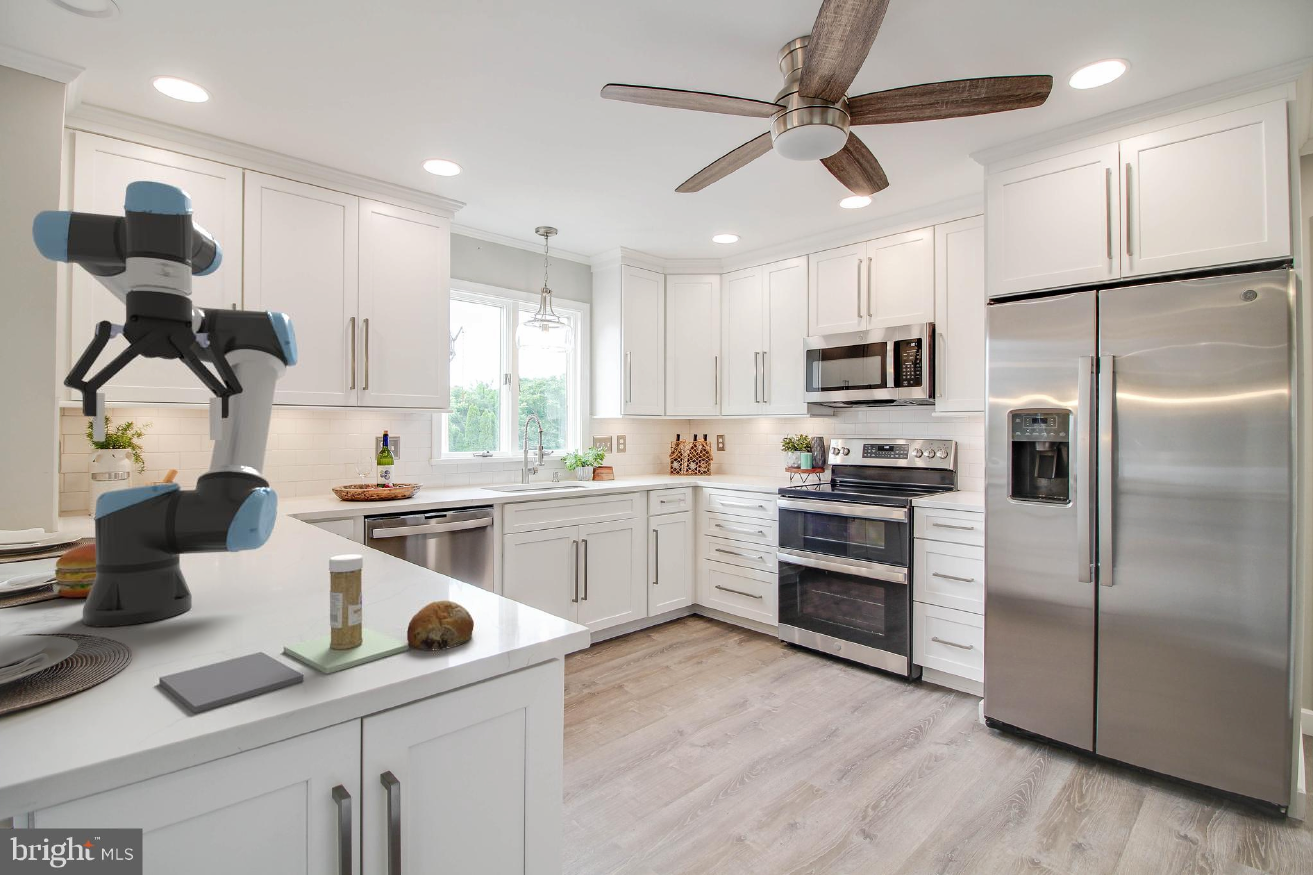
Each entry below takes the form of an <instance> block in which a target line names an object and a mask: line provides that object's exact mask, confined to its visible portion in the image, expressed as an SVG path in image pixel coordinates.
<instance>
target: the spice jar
mask: <svg viewBox="0 0 1313 875" xmlns="http://www.w3.org/2000/svg"><path fill="white" fill-rule="evenodd" d="M363 566H364V557H363V555H361V554H354V553H353V554H351V553H350V554H340V555H335V556H332V557H330V558H329V561H328V571H329V574H330V576H329V578H330V579H329V580H330V583H329V584H330V589H329V620H330V621H329V626H330V635H331V642H330V647H331V648H333V649H339V650H340V649H350V648H353V647H356V646H358V645H360V644H361V643H362V642H363V639H362V627H363V626H362V625H363V591H362V584H363V583H362V581H363V580H362V571H363Z"/></svg>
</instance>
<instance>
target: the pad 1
mask: <svg viewBox="0 0 1313 875" xmlns="http://www.w3.org/2000/svg"><path fill="white" fill-rule="evenodd" d="M158 680H159V682H158V683H159V685H160V686H162V687H163V688H164V689H165V690H166V691H168V692H169V693H170V694H172V696H174V697H175V698H176V699H177V700H178V701H180V702H181V703H182V704H184V706H185V707H186V708H188V709H189V710H190V711H191V712H193V713H194V714H198V713H200V712H205V711H208V710H212V709H214V708H218V707H221V706H225V705H229V704H232V703H235V702H238V701H241V700H245V699H248V698H251V697H255V696H259V695H261V694H265V693H268V692H271V691H274V690H275V691H276V690H279V689H281V688H284V687H285V688H286V687H288V686H291V685H296V684H298V683H302V682H304V680H305V678H304V674H302V673H300V672H299V671H297V670H295V669H294V668H291V667H290V666H288V665H286V664H284V663H282V662H281V661H280V660H278V659H276V658H273V657H272V656H270V655H268V654H266V653H264V652H263V651H260V652H255V653H251V654H248V655H244V656H239V657H236V658H232V659H228V660H223V661H220V662H215V663H211V664H208V665H204V666H199V667H196V668H192V669H188V670H184V671H179V672H176V673H172V674H167V675H164V676H160V677H159V679H158Z"/></svg>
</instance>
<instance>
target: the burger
mask: <svg viewBox="0 0 1313 875" xmlns="http://www.w3.org/2000/svg"><path fill="white" fill-rule="evenodd" d="M55 568H56V569H55V570H54V573H55V579H56V581H55V583H54V584H53V585H52V590H53V593H54V594H59V595H60V596H62V597H66V598H67V597H68V598H88V595H89V593H90V590H91V588H92V585H93V583H94V580H95V577H96V545H95V543H92V544H86V545H83V546H79V547H76V548H73V549H71V550H68V551H67V552H66V553H65V554H62V555H61V556H60V557H59V558H58V560H57V561H56V563H55Z"/></svg>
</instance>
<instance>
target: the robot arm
mask: <svg viewBox="0 0 1313 875" xmlns="http://www.w3.org/2000/svg"><path fill="white" fill-rule="evenodd" d="M124 198H125V199H124V205H123V209H124V216H121V215H111V214H101V213H89V212H82V211H81V212H79V211H74V210H51V209H50V210H49V209H47V210H43V211H40V212H38V213H37V214H36V216H35V217H34V219H33V222H32V223H33V224H32V238H33V242H34V245H35V247H36V249H37V250H38V252H39V253H40V255H41V256H43V258H46V259H47V260H50V261H55V262H60V263H64V264H70V263H72V264H73V263H75V264H78V265H79V267H81V268H82V269H84V271H86V272H87V273H89V275H91V276H92V277H93V278H94V279H95V280H96V281H98V282H99V283H100V285H102V286H103V287H104V288H105V289H107V290H108V291H109V292H110V293H111V294H112V295H113V296H114V297H116V299H118V300H119V301H120V302H121V303H122V304H124V306H125V322H124V324H123V325H122V324H117V323H113V322H110V320H109V321H108V320H105V319H104V320H101V321H99V322H97V323H96V324H95V329H94V336H93V339H92V340H91V342H90V343H89V344H88V346H87V347H86V349H85V350H84V352H82V354H81V356H80V357H79V359H77V362H76V363H75V365H74V366H73V367H72V369H71V370H70V371H69V373H68V374H67V376H66V377H65V379H64V380H63V385H64V387H66V388H71V389H74V390H77V391H79V392H80V393H81V395H82V414H83V415H84V417H92V442H105V441H106V404H105V403H106V394H105V393H104V392H97V391H98V390H99V389H100V388H101V387H103V386H104V385H105V384H106V383H107V382H108V381H109V380H111V379H112V378H113V377H114V376H116V375H117V374H118V373H119V372H120V371H121V370H122V369H123V368H125V367H126V366H127V365H128V364H130V362H131V361H133V360H134V359H135V358H136V357H138V356H139V355H140V356H142V357H144V358H145V359H154V358H160V359H163V360H170V361H171V360H176V359H178V360H179V361H181V362H182V364H185V365H186V366H187V367H188V369H189V370H191V371H192V373H193V374H194V375H195V376H196V377H197V378H198V379H199V380H200V381H201V382H202V383H203V384H204V386H206V387H207V388H208V389H209V391H211V392H212V393H213V395H214V396H216V397H209V440H210V441H214V445H213V450H212V455H211V460H210V466H209V470H207V471H206V472H204V473H201V475H199V476H198V477H197V479H196V480H197V481H196V486H195V488H194V489H186V490H181V486H180V484H179V483H178V482H175V481H174V482H167V483H158V484H150V485H144V486H137V487H136V486H135V487H128V488H122V489H116V490H110V491H106V492H103V493H102V494H100V495H98V498H97V499H96V502H95V512H94V515H95V516H94V517H93V521H94V535H95V536H94V538H95V540H94V541H95V543H94V544H95V545H96V577H95V580H94V583H93V585H92V588H91V590H90V593H89V595H88V597H86V600H85V602H84V605H83V607H82V623H83V624H84V625H87V626H89V627H90V626H91V627H118V626H119V627H120V626H128V625H136V624H142V623H150V622H154V621H159V620H164V619H167V618H171V617H174V616H177V615H180V614H182V613H185V612H187V611H190V609H191V608H192V606H193V605H192V604H193V601H192V599H193V598H192V593H191V590H190V588H189V586H188V584H187V581H186V578H185V576H184V574H183V572H182V569H181V565H180V560H181V559H180V555H184V554H185V555H186V554H187V555H188V554H204V553H205V554H206V553H227V552H230V553H239V552H241V551H252V550H257V549H260V548H262V547H263V546H264V545H265V544H266V543H267V542H268V541H269V539H270V537H271V536H272V535H271V534H272V533H273V530H274V528H275V524H276V520H277V515H278V511H277V508H278V495H277V493H276V491H275V489H273V488H270V482H269V481H268V480H267V478H265V476H263V470H264V464H265V463H264V462H265V455H266V449H267V443H268V437H269V430H270V429H269V428H270V422H271V418H272V410H273V403H274V397H275V390H276V383H277V380H280V379H281V378H283V377H284V376H285V375H286V372H287V366H288V367H293V366H296V365H297V363H298V345H297V339H296V334H295V330H294V326H293V322H292V320H291V318H290V317H289V315H287V314H286V313H284V312H276V311H275V312H274V311H269V310H265V311H258V310H257V311H255V310H242V309H241V310H240V309H228V308H227V309H225V308H213V307H211V308H210V307H202V306H201V307H200V306H196V305H194V304H193V300H192V299H191V298H189V296H191V295H192V293H193V281H192V280H193V279H192V277H203V276H204V277H206V276H208V275H210V274H213V273H214V272H216V271H217V270H218V269H219V268H220V266H221V264H222V261H223V252H222V251H223V250H222V248H221V246H220V244H219V243H218V242H217V240H216V238H214V237H213V235H212V233H210V232H209V231H207V230H205V229H204V228H203V227H201V226H200V225H199V224H198V223H196V222H195V221H194V220H193V219H192V218H193V216H192V215H193V214H194V210H193V209H192V199H191V196H190V194H189V193H187V192H186V191H184V190H183V189H181V188H179V187H176V186H174V185H170V184H167V183H162V182H158V181H152V180H151V181H149V180H136V181H133V182H129V184H128V185H127V186H126V189H125V197H124ZM118 334H122V336H123V338H124V339H125V340H126V341H127V342H128V343H129V344H130V345H129V346H128V347H126V348H125V349H124V350H123V351H121V353H119V355H117V356H116V357H115V358H114V359H112V360H111V361H110V362H109V363H108V364H107V365H106V366H104V367H103V368H101V370H100V371H98V372H97V373H96V374H95V375H94V376H93V377H91V378H90V379H89V380H88V381H84V380H83V379H84V378H85V377H86V375H87V373H89V371H90V369H91V368H92V366H93V365H94V364H95V362H96V360H97V359H98V358H99V356H100V354H101V353H102V351H103V350H104V349H105V347H106V345H107V344H108V342H109V340H112V339H114V338H115V339H116V338H117V336H118ZM203 362H204V363H210V364H212V365H213V367H214V368H215V370H216V372H217V374H218V375H219V377H220V379H221V380H222V382H223V383H222V382H221V381H220V380H219V379H218V378H217V377H216V376H215V375H214V374H213V372H211V371H210V369H209V368H208V367H207V366H206V365H205V364H204V363H203Z"/></svg>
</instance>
